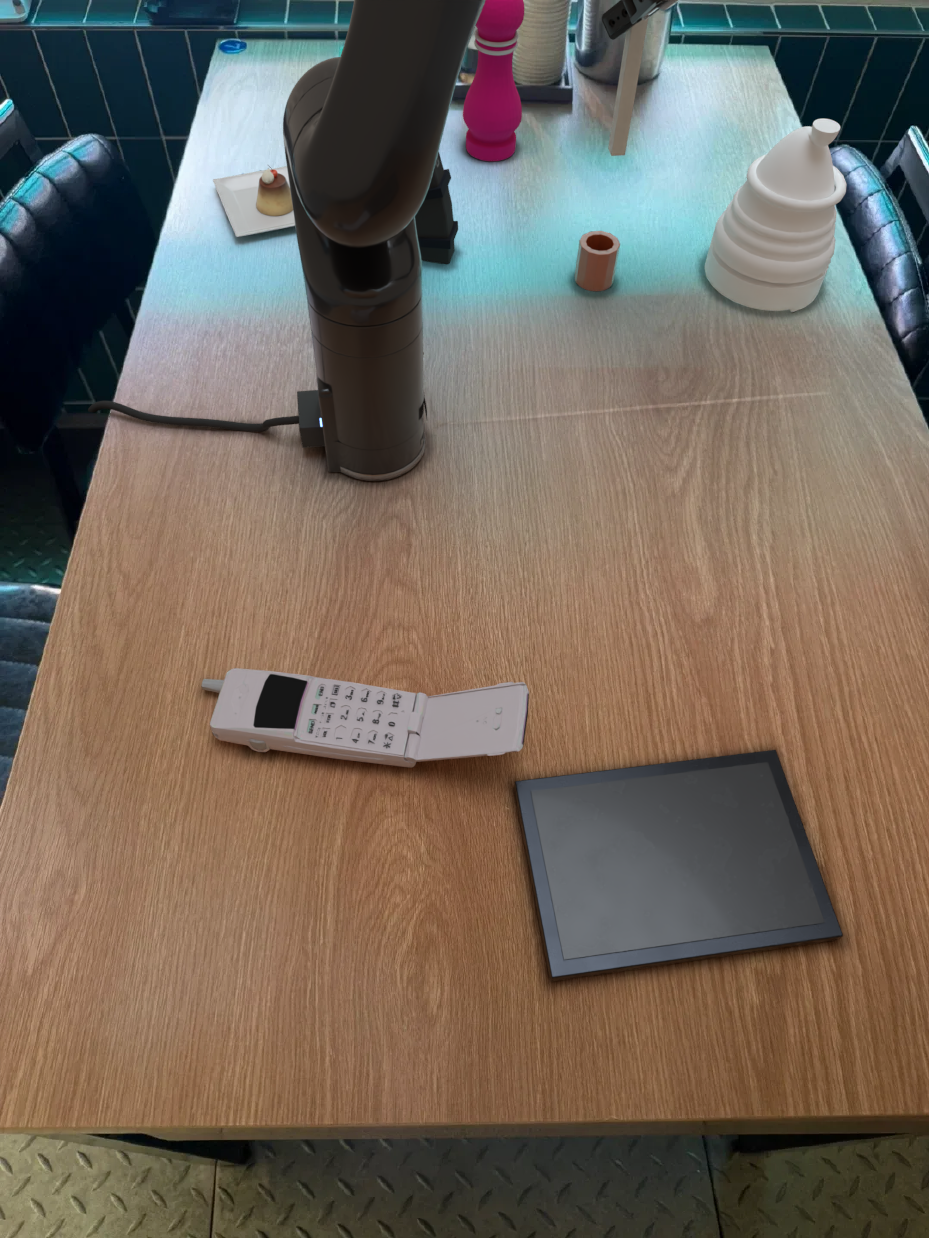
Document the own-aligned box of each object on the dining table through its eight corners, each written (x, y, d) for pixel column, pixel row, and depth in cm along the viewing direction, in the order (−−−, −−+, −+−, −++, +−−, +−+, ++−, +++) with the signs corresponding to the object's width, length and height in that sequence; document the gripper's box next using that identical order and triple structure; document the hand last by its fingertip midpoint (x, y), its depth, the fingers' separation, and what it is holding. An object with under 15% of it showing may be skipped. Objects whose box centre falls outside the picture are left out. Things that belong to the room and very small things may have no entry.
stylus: (611, 156, 91) (638, -18, 79) (607, 148, 92) (634, -25, 80) (625, 155, 91) (655, -18, 79) (621, 148, 92) (650, -26, 80)
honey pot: (842, 299, 104) (911, 138, 89) (741, 325, 101) (795, 162, 86) (779, 233, 110) (833, 73, 96) (682, 255, 107) (723, 93, 93)
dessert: (311, 170, 115) (307, 131, 111) (340, 225, 109) (337, 186, 105) (214, 188, 112) (206, 149, 108) (238, 245, 106) (230, 206, 102)
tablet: (550, 981, 62) (551, 977, 61) (513, 786, 70) (514, 780, 69) (838, 940, 64) (844, 935, 63) (772, 754, 72) (776, 748, 71)
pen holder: (578, 296, 103) (584, 255, 99) (570, 272, 105) (576, 232, 101) (616, 293, 103) (623, 253, 99) (607, 270, 106) (614, 229, 101)
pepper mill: (454, 137, 120) (458, -42, 104) (508, 130, 122) (520, -49, 105) (471, 168, 116) (478, -14, 100) (527, 159, 118) (542, -21, 101)
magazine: (477, 261, 103) (417, 129, 92) (374, 288, 109) (307, 167, 98) (484, 241, 105) (427, 110, 95) (383, 269, 111) (318, 148, 101)
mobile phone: (523, 754, 65) (168, 704, 66) (516, 790, 70) (186, 744, 71) (531, 680, 68) (194, 634, 70) (524, 720, 73) (209, 677, 74)
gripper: (806, -180, 71) (643, -43, 85) (702, -133, 65) (546, 5, 79) (843, -76, 73) (679, 40, 88) (747, -21, 67) (588, 93, 82)
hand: (617, 23), depth 83 cm, fingers closed on stylus
